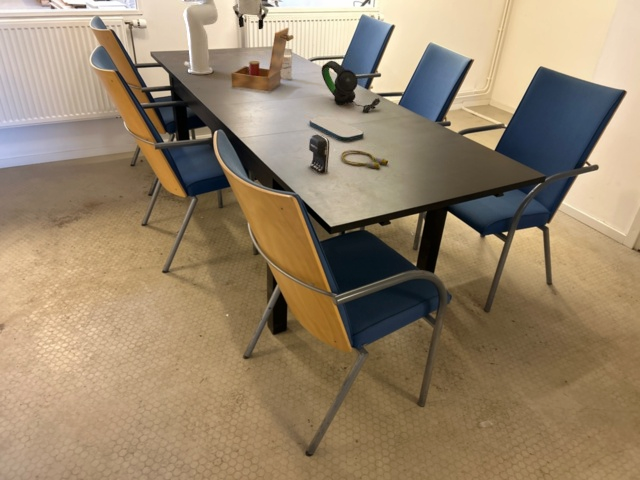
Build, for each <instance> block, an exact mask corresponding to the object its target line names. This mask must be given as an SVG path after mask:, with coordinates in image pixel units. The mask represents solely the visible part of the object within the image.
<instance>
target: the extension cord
mask: <svg viewBox="0 0 640 480" xmlns="http://www.w3.org/2000/svg"><path fill="white" fill-rule="evenodd" d="M353 154H354V155H356V154H357V155H366V156H369V157H370V158H371V159H372V160H371V161H369V162H368V161H367V162H366V163H365V162H356V161H350V160H348V159H346V158H345V157H346V156H348V155H353ZM341 159H342V161H343V162H344V163H345V164H348V165H352V166H357V167H361V166H362V167H363V166H366V167H369V168H371V169H379V168H380V164H381V165H386V166H387V165H388V163H389V160H388V159H385V158H383V157H374V155H373V154H371V153H370V152H366V151H363V150H355V149H350V150H349V149H348V150H343V152H341ZM375 161H376V162H375Z"/></svg>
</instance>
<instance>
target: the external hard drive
mask: <svg viewBox="0 0 640 480" xmlns="http://www.w3.org/2000/svg"><path fill="white" fill-rule="evenodd" d="M309 125H310V126H311V127H313V128H315V129H317V130H319V131H321V132H322V133H324V134H327V135H328V136H330V137H332V138H334V139H336V140H337V141H338V140H339V141H342V142H351V141H355V140H358V139H359V140H360V139H362V138H363V137H364V131H363V130H361V129H359V128H357V127H355V126H352V125H351V124H349V123H347V122H344V121H342V120H340V119H338V118H336V117H333V116H330V115H322V116H316V117H313V118H310V119H309Z"/></svg>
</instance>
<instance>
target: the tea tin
mask: <svg viewBox="0 0 640 480" xmlns="http://www.w3.org/2000/svg"><path fill="white" fill-rule="evenodd" d="M248 67H249V75H252V76H260V74H259V68H260V61H258V60H249V61H248Z"/></svg>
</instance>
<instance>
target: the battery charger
mask: <svg viewBox="0 0 640 480" xmlns="http://www.w3.org/2000/svg"><path fill="white" fill-rule="evenodd" d="M308 150H309V151H310V152H311V153H312V160H311V163H310V166H309V167H310V168H311V169H312V171H315V173H318V174H326V173H328V168H329V159H330V158H329V157H330V140H329V139H328V137H326V136H325V135H323V134H320V133H317V134H313V135H311V136H310V137H309V145H308Z"/></svg>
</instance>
